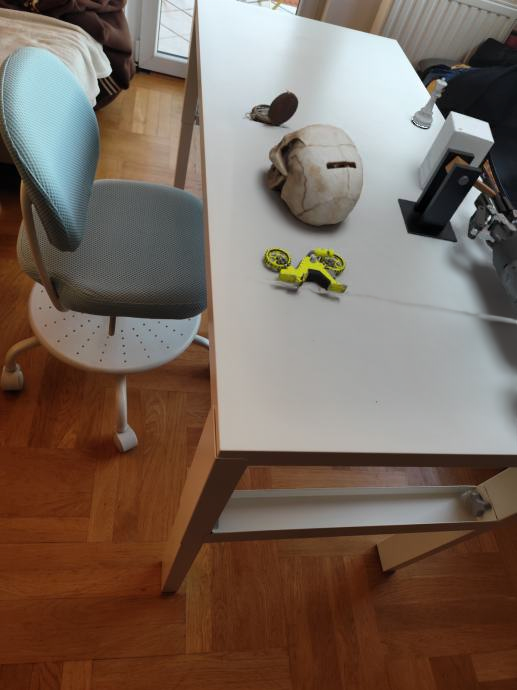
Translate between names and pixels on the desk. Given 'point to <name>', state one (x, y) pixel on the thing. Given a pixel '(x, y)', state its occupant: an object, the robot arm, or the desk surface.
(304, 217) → the coin bank
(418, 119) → the chess piece
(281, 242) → the desk surface
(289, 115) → the compass
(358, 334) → the desk surface
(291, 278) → the toy motorcycle
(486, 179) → the lever
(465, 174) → the bracket
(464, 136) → the white packaging box
